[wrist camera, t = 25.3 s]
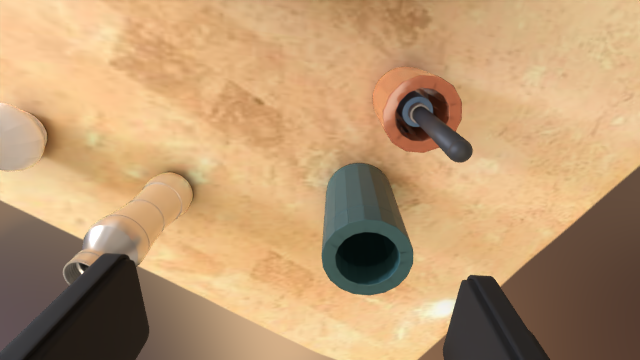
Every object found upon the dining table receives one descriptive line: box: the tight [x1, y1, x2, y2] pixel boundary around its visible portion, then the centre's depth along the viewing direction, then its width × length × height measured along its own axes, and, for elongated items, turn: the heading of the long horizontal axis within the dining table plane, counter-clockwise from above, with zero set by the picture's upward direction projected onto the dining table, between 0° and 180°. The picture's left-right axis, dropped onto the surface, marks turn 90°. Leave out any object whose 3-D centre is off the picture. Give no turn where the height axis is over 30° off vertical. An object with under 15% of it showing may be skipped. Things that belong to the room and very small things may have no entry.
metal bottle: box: [63, 172, 193, 285], centre depth 41 cm, size 6×7×20 cm
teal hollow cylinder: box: [322, 163, 413, 295], centre depth 41 cm, size 9×9×16 cm
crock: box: [373, 67, 462, 153], centre depth 38 cm, size 8×8×11 cm
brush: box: [396, 91, 472, 162], centre depth 33 cm, size 3×3×22 cm
